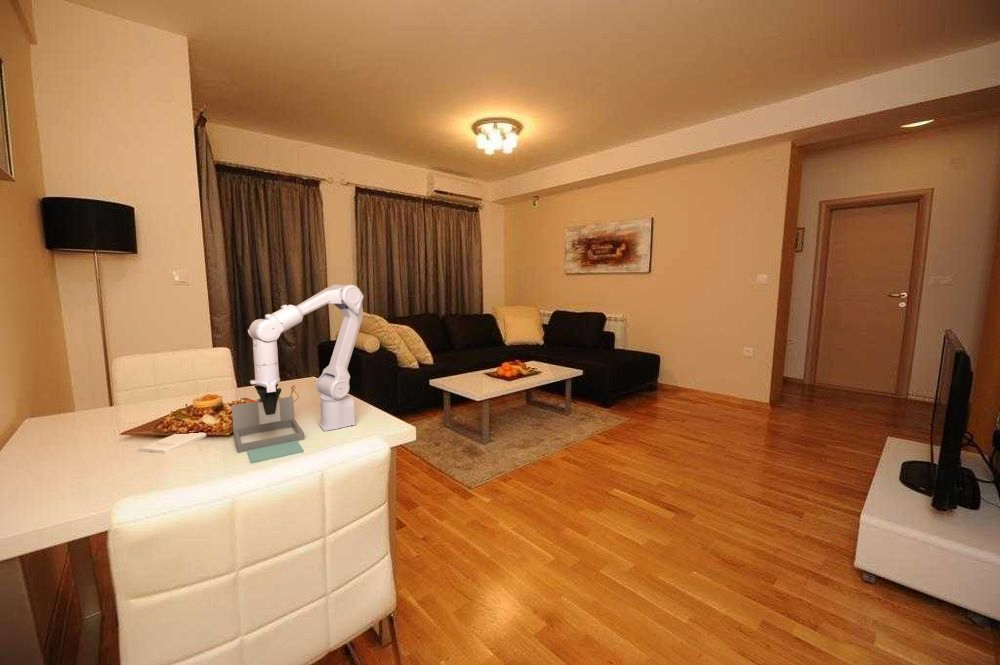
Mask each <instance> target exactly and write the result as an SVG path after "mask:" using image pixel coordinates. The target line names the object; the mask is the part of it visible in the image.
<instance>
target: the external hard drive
mask: <svg viewBox="0 0 1000 665" xmlns="http://www.w3.org/2000/svg"><path fill="white" fill-rule="evenodd" d="M198 432H199V431H198ZM205 437H207V433H205V432H199V433H189V434H176V433H174V434H172V435H169V436H167V437H164V438H162V439H159V440H157V441H154V442H151V443H148V444H145V445H144V446H141V447H139V448H138V452H142V453H154V454H161V455H162V454H163V455H165V454H166V455H167V454H168V453H170V452H173V451H175V450H177V449H180V448H182V447H184V446H185V447H186V445H189V444H192V443H194V442H196V441H199V440H201V439H203V438H205Z"/></svg>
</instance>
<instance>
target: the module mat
mask: <svg viewBox="0 0 1000 665" xmlns="http://www.w3.org/2000/svg"><path fill="white" fill-rule="evenodd" d="M246 452H247V455H248V458H249V462H250V464H254V463H260V462H264V461H268V460H273V459H278V458H283V457H286V456H291V455H296V454H300V453H304V449H303V447H302V445H301V444H300V442H299V441H292V442H287V443H283V444H278V445H273V446H268V447H263V448H258V449H253V450H248V451H246Z"/></svg>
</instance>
